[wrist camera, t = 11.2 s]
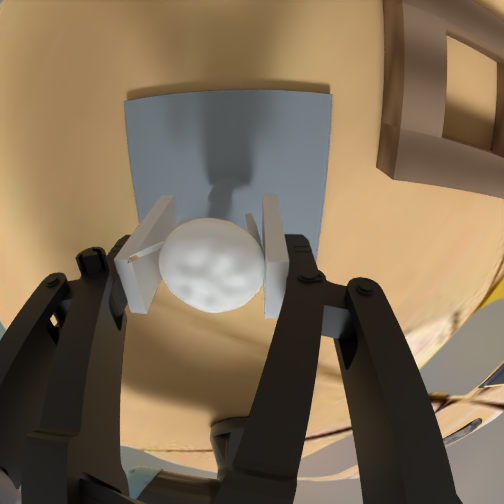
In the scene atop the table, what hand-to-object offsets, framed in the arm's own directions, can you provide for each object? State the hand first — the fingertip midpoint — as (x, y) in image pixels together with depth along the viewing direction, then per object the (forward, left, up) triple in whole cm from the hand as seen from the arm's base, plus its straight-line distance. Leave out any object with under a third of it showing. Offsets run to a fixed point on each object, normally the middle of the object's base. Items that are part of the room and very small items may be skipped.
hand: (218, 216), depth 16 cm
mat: (0, 0, -5) cm, 5 cm away
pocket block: (+10, -19, -5) cm, 22 cm away
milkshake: (0, 0, -3) cm, 3 cm away
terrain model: (-86, -81, -6) cm, 119 cm away
